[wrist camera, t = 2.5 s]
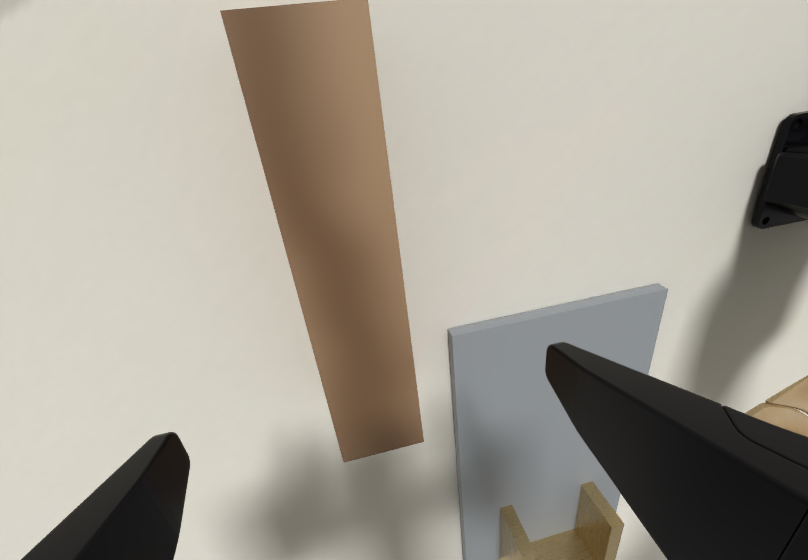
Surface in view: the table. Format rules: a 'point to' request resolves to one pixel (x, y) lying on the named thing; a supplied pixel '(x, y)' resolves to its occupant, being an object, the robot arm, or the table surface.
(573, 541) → the cup bracket
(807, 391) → the board
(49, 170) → the table surface
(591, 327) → the mounting board
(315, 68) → the walnut rail
